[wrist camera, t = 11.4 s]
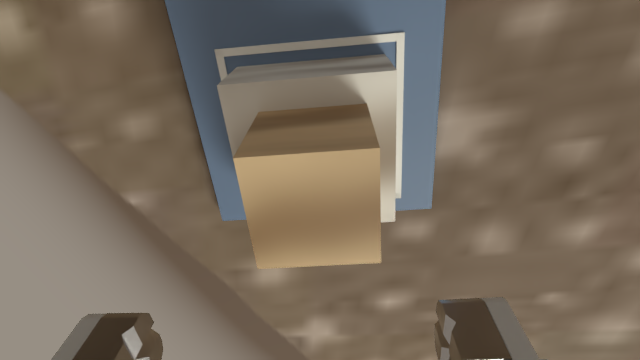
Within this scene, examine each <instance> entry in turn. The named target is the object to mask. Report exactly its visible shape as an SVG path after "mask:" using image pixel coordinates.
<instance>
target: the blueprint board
mask: <svg viewBox="0 0 640 360" xmlns="http://www.w3.org/2000/svg"><path fill="white" fill-rule="evenodd" d="M165 4H166V7H167V11H168V15H169V19H170V23H171V26H172V30H173V34H174V38H175V42H176V45H177V49H178V53H179V57H180V61H181V64H182V68H183V72H184V76H185V80H186V83H187V87H188V91H189V95H190V99H191V102H192V106H193V110H194V114H195V118H196V121H197V125H198V129H199V133H200V137H201V140H202V144H203V148H204V152H205V156H206V159H207V163H208V167H209V171H210V175H211V178H212V182H213V186H214V190H215V194H216V197H217V201H218V205H219V209H220V213H221V216H222V220H223V221H228V220H245V219H246V214H245V210H244V205H243V201H242V196H241V192H240V187H239V183H238V178H237V174H236V169H235V165H234V161H233V156H232V151H231V147H230V142H229V138H228V133H227V129H226V124H225V120H224V116H223V111H222V107H221V102H220V98H219V93H218V89H217V85H218V84H219V83H220V82H221V81H222V80H223V79H224V78H225V77H226V76H227V75H229V74H230V73H231V72H232V71H233V70H234V69H235V68H236V67H241V66H252V65H264V64H275V63H287V62H298V61H310V60H321V59H333V58H344V57H356V56H367V55H379V54H385V55H386V56H387V57H388V59H389V60H390V61H391V63H392V64H393V66H394V67H395V68H396V70H397V111H396V189H395V211H397V210H414V209H431V207H432V192H433V178H434V164H435V149H436V135H437V120H438V106H439V92H440V77H441V63H442V48H443V34H444V20H445V5H446V0H165Z"/></svg>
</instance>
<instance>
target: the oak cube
mask: <svg viewBox="0 0 640 360" xmlns="http://www.w3.org/2000/svg"><path fill="white" fill-rule="evenodd" d="M233 161H234V165H235V169H236V174H237V178H238V183H239V187H240V192H241V196H242V201H243V205H244V210H245V214H246V219H247V223H248V228H249V232H250V237H251V241H252V245H253V250H254V254H255V259H256V263H257V268H258V269H266V268H286V267H306V266H326V265H346V264H366V263H381V200H380V146H379V143H378V140H377V136H376V133H375V129H374V126H373V123H372V119H371V116H370V112H369V109H368V106H367V104H354V105H342V106H329V107H316V108H303V109H290V110H277V111H265V112H258V114H257V115H256V117H255V119H254V121H253V123H252V125H251V126H250V128H249V130H248V132H247V134H246V135H245V137H244V139H243V141H242V143H241V145H240V146H239V148H238V150H237V152H236V154H235V155H234V157H233Z"/></svg>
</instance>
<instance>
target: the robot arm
mask: <svg viewBox="0 0 640 360" xmlns="http://www.w3.org/2000/svg"><path fill="white" fill-rule="evenodd" d="M436 313H437V316H438V319H439V320H438V321H437V322H436V323H435V328H434V338H435V347H436V352H437V356H438V360H547V359H539V357H538V355H537V353H536V352H535V350H534V348H533V346H532V345H531V343H530V341H529V339H528V337H527V336H526V334H525V332H524V330H523V328H522V327H521V325H520V323H519V321H518V320H517V318H516V316H515V314H514V312H513V311H512V309H511V307H510V305H509V303H508V302H507V300H506V299H504V298H503V297H496V298H481V299H480V298H470V299H452V300H438V302H437V306H436ZM153 323H154V321H153V320H152V318H151V316H150V314H149V313H107V314H88V315H87V316H85V317H83V318H82V319H81V320H80V321H79V323H78V324H77V325H76V327H75V328H74V329H73V331H72V332H71V334H70V335H69V336H68V338H67V339H66V340H65V342H64V343H63V344H62V346H61V347H60V349H59V350H58V351H57V352H56V354H55V355H54V356H53V358H52V360H161V359H162V352H163V346H162V340H161V337H160V335H159V334H158V333H157V332H155V331H154V330H152V329H151V327H152V325H153Z"/></svg>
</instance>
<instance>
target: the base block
mask: <svg viewBox="0 0 640 360" xmlns="http://www.w3.org/2000/svg"><path fill="white" fill-rule="evenodd" d="M217 89H218V93H219V98H220V102H221V107H222V111H223V116H224V120H225V124H226V129H227V133H228V138H229V142H230V147H231V151H232V156H233V157H234V155H235V154H236V152H237V150H238V148H239V146H240V145H241V143H242V141H243V139H244V137H245V135H246V134H247V132H248V130H249V128H250V126H251V125H252V123H253V121H254V119H255V117H256V115H257V114H258V112H265V111H277V110H290V109H303V108H316V107H329V106H342V105H354V104H367V106H368V109H369V112H370V116H371V119H372V123H373V126H374V129H375V133H376V136H377V140H378V143H379V146H380V200H381V222H395V189H396V111H397V70H396V68H395V67H394V66H393V64H392V63H391V61H390V60H389V59H388V57H387V56H386V55H385V54H379V55H367V56H356V57H344V58H333V59H321V60H310V61H298V62H287V63H275V64H264V65H252V66H241V67H236V68H235V69H234V70H233V71H232V72H231V73H230V74H229V75H227V76H226V77H225V78H224V79H223V80H222V81H221V82H220V83H219V84H218V85H217Z"/></svg>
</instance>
